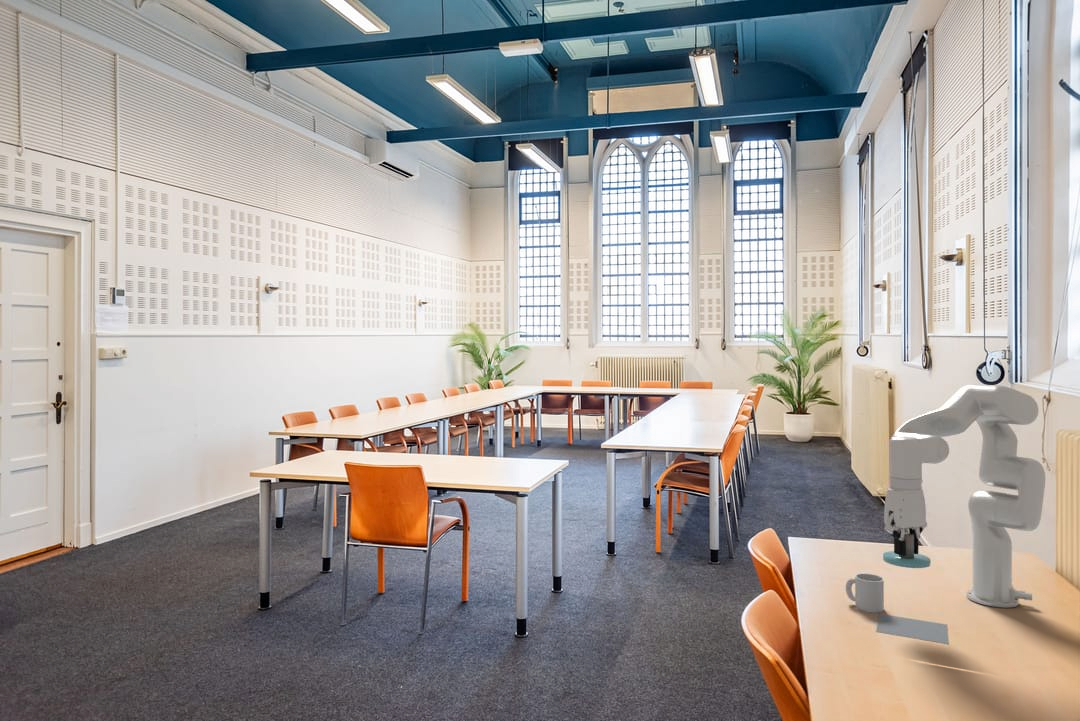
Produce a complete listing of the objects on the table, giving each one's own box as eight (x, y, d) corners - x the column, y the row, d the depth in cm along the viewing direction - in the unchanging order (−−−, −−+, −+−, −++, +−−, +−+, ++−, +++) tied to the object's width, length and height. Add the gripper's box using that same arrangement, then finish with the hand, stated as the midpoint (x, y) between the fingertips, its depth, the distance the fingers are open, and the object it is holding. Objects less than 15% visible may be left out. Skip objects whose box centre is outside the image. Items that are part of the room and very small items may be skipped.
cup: (879, 616, 186) (879, 583, 186) (841, 607, 193) (841, 575, 193) (887, 608, 191) (887, 577, 191) (850, 600, 198) (850, 569, 198)
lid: (929, 558, 181) (929, 531, 180) (931, 570, 171) (931, 541, 171) (883, 553, 186) (883, 527, 186) (882, 564, 176) (882, 536, 176)
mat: (947, 626, 179) (947, 624, 179) (948, 645, 166) (948, 644, 166) (879, 615, 187) (879, 613, 187) (876, 633, 174) (876, 631, 174)
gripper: (917, 479, 184) (917, 546, 185) (869, 483, 179) (870, 553, 179) (941, 484, 177) (942, 554, 178) (893, 489, 172) (893, 561, 172)
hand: (906, 553), depth 178 cm, fingers closed on lid, 3 cm apart
